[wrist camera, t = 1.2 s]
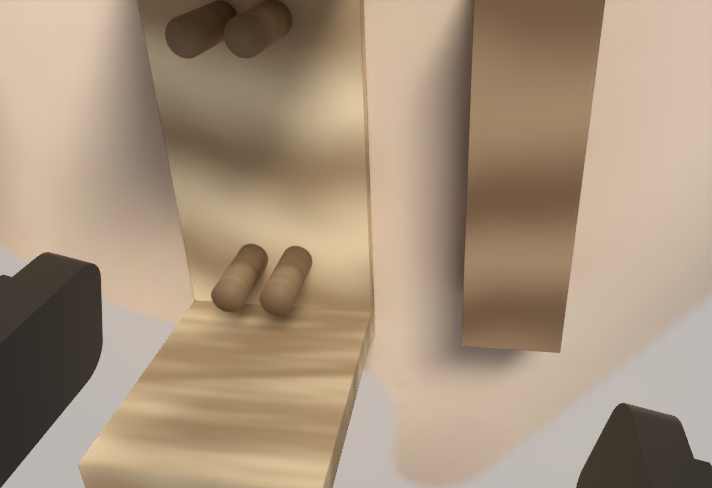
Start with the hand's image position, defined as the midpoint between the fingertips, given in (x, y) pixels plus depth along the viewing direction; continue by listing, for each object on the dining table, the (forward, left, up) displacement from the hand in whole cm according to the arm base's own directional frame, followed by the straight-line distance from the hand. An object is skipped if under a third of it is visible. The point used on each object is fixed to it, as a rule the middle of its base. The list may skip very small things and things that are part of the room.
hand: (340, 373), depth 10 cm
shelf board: (-4, +4, -22) cm, 23 cm away
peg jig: (+8, +4, -22) cm, 23 cm away
